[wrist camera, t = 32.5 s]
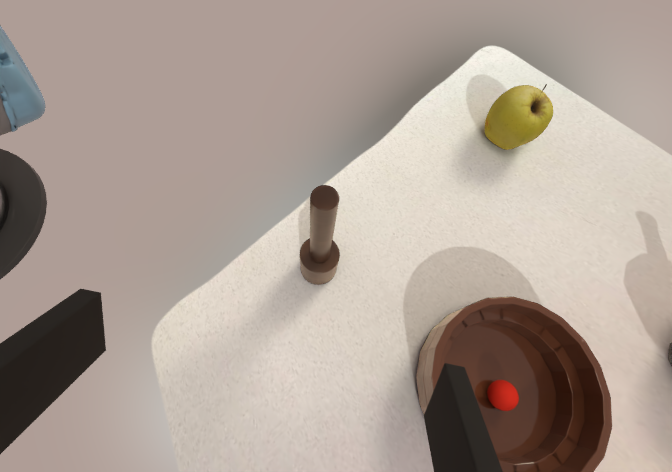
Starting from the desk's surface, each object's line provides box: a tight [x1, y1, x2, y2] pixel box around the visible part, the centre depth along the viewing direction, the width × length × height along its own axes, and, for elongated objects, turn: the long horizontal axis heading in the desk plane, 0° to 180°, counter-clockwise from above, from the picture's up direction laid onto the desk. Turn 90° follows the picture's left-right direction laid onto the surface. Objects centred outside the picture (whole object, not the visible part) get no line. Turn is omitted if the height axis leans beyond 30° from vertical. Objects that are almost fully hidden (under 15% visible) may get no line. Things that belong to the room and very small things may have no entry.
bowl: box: [416, 297, 612, 472], centre depth 37 cm, size 18×18×6 cm
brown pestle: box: [300, 185, 340, 285], centre depth 35 cm, size 4×4×18 cm
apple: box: [485, 84, 553, 150], centre depth 49 cm, size 8×8×10 cm
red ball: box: [487, 380, 519, 411], centre depth 37 cm, size 3×3×3 cm
